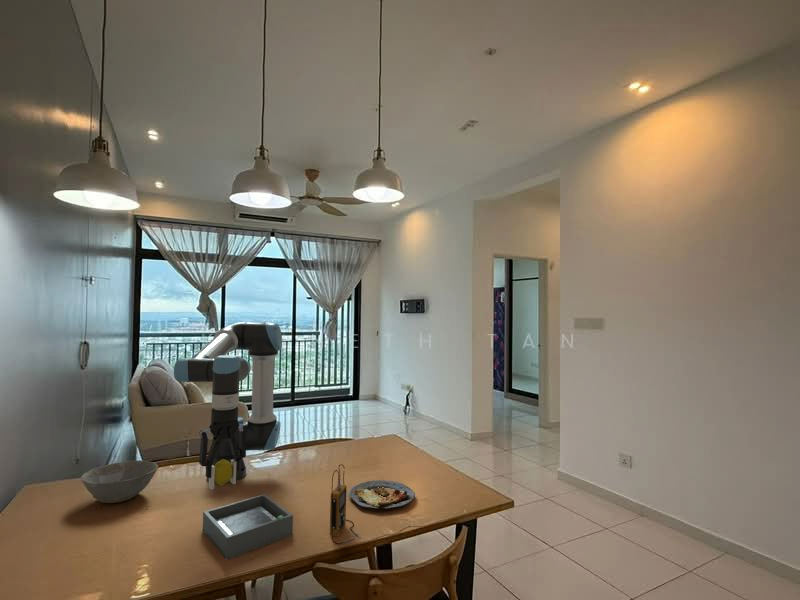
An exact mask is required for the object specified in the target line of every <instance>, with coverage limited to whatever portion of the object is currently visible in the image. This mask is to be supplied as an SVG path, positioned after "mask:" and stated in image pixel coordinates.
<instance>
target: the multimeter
mask: <svg viewBox="0 0 800 600" xmlns="http://www.w3.org/2000/svg"><path fill="white" fill-rule="evenodd" d="M341 466H342V467H343V468H345V466H344V464H339V465H338V467H341ZM335 472H337V475H338V477H337V486H336V487H335V488H334V489H333V486H334V485H333V481H334V475H335ZM342 473H343V476H342V481H343V483H342V484H343V485H342V484H341V469H340V468H338V470H337V469H336V470H334V471H333V473H332V478H331V493H330V507H329V508H330V509H329V513H330V514H329V536H331V540H332V542H333V543H334V544H336V545H341V544H343V543H344V544H345V543H347V542H349V541H351V540H352V539H354V538H356V537H359V538H360V539H361V538H362V537H361V536H360V534H358V532H356V531H355V530H352V528H353V527H354V525H355V524H354V522H353V521H352V520H349V519H346V518H347V517H346V516H347V488H348V487H347V485H345V472H342ZM346 521H347V522H350V523H352V525H351V526H350V527H349V529H350V531H351V532H352V533H353V534H355V535H356V536H354V537H350V538H348V539H345V540H343V541H342V542H339V543H337V542H336V541H335V540H334V537H339V536H340V534H341V532H342V531H343V530H344V529H345V527H346Z"/></svg>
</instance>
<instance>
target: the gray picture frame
mask: <svg viewBox="0 0 800 600" xmlns="http://www.w3.org/2000/svg"><path fill="white" fill-rule="evenodd" d="M275 519H276V518H275V517H274V516H273V515H271V514H270V513H269V512H268V511H266V510H265V509H264V508H263V507H262V506H258V507H255V508H252V509H248V510H245V511H242V512H239V513H235V514H232V515H229V516H226V517H222V518H219V519H216V521H217V522H218V523H219V524H220V526H221V527H222V528H223V529H224V530H225V531H226V532H227V533H228V534H229V535H232V534H234V533H237V532H240V531H243V530H246V529H249V528H252V527H255V526H258V525H261V524H264V523H267V522H270V521H272V520H275Z"/></svg>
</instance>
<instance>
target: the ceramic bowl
mask: <svg viewBox="0 0 800 600" xmlns="http://www.w3.org/2000/svg"><path fill="white" fill-rule="evenodd" d="M158 469H159V465H158V463H156V462H153V461H149V460H137V459H136V460H135V459H134V460H126V461H120V462H114V463H109V464H105V465H102V466H98V467H94V468H93V469H90V470H89V471H86V472H84V473H83V474H82V475H81V477H80V480H81V483H83V485H84V487H85V488H86V490H87V491H88V492H89V494H91V495H92V498H93V499H96V500H97V501H99V502H100V503H103V504H104V503H105V504H113V503H114V504H115V503H121V502H125V501H128V500H130V499H132V498H135V496H137V495H138V494H139V493H141V492H142V491H143V490H144V489H146V488H147V486H149V484H150V483H151V481H152V479H153V478H154V475H155V474H156V472H157V470H158Z"/></svg>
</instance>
